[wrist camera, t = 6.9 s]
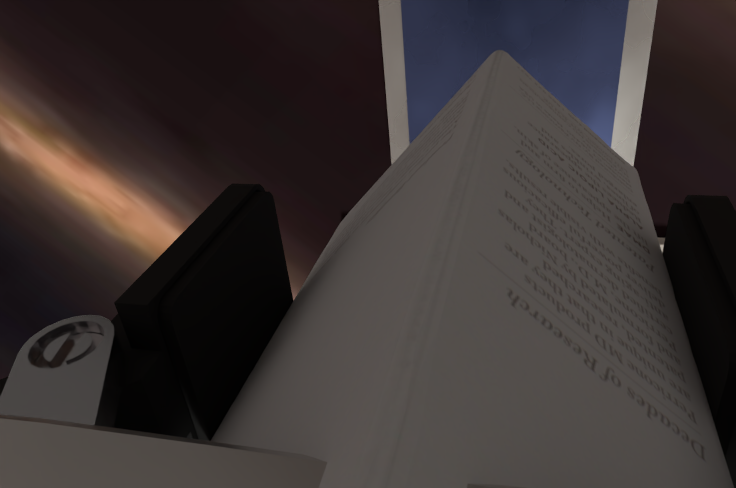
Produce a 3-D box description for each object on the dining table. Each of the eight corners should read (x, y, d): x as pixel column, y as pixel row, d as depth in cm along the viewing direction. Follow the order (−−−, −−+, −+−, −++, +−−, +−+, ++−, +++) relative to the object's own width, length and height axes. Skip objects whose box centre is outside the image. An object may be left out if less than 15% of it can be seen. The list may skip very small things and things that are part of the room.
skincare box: (464, 311, 17) (341, 988, 7) (333, 211, 16) (-19, 801, 6) (651, 157, 13) (971, 1083, 3) (495, 20, 12) (296, 670, 3)
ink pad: (376, -127, 22) (364, -126, 21) (674, -160, 20) (684, -161, 18) (398, 170, 28) (390, 187, 27) (627, 175, 26) (631, 194, 24)
